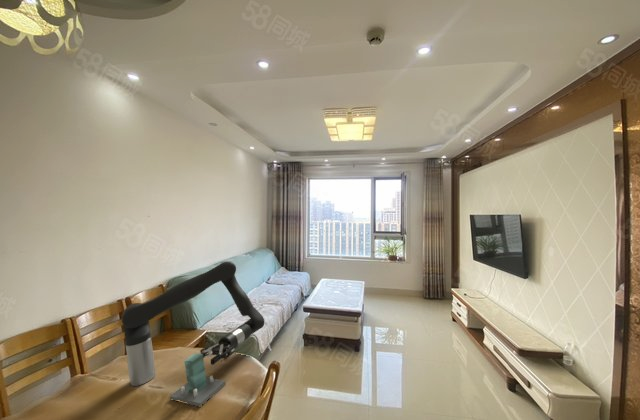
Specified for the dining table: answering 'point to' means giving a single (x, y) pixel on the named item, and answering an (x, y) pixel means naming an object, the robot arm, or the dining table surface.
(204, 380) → the teal post
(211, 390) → the peg plate
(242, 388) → the dining table surface
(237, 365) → the dining table surface
